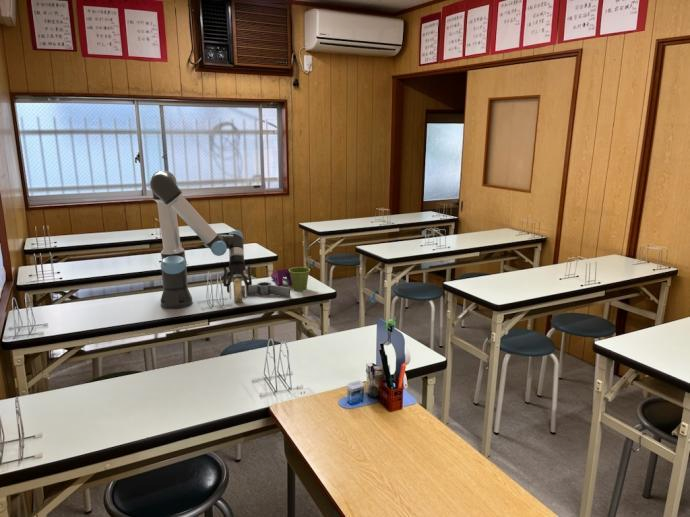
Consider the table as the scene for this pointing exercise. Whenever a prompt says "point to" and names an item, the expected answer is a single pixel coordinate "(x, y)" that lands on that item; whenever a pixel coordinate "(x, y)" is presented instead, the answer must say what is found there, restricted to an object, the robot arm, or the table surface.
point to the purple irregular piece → (281, 277)
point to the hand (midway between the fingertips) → (238, 297)
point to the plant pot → (299, 278)
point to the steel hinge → (266, 289)
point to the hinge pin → (237, 290)
